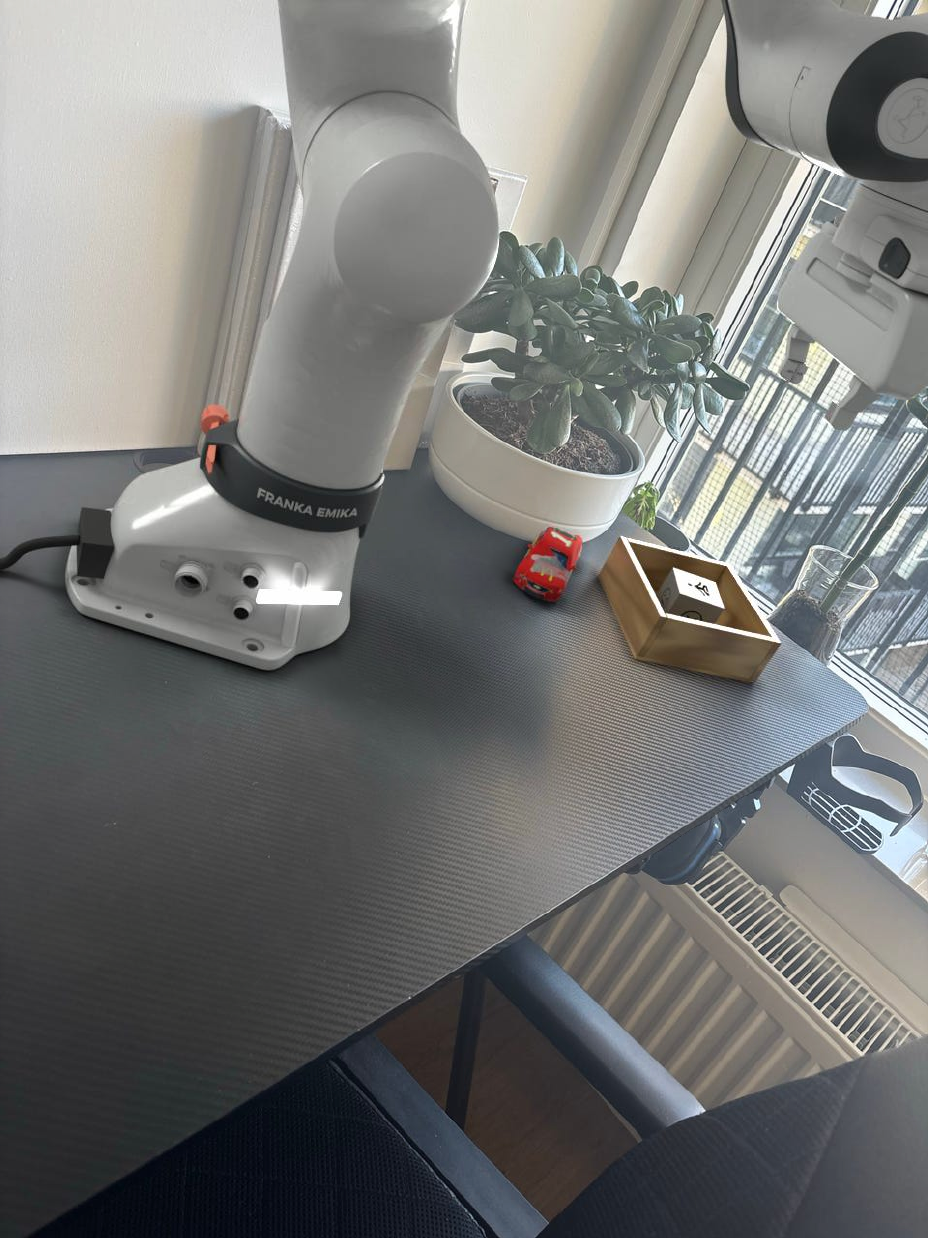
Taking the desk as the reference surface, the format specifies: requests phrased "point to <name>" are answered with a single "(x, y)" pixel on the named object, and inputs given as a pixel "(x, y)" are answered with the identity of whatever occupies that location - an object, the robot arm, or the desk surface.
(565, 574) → the race car
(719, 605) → the dice cube
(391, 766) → the desk surface
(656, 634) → the crate
